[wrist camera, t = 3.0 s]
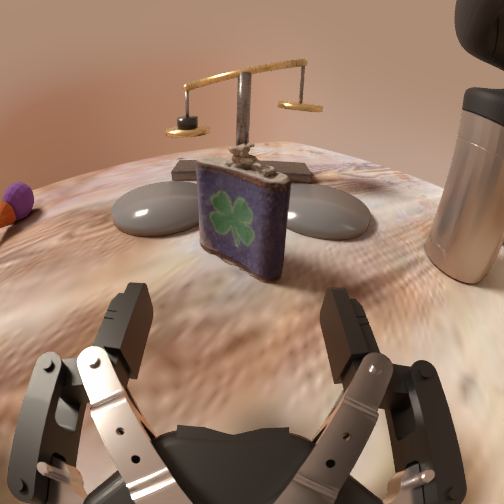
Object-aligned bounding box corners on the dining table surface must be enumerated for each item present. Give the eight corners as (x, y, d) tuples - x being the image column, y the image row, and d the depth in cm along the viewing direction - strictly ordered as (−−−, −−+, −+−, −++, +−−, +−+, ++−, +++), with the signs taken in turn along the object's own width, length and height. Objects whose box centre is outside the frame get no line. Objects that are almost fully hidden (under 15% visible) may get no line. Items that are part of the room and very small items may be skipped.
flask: (194, 246, 27) (188, 139, 21) (215, 234, 29) (214, 133, 23) (270, 288, 23) (284, 160, 17) (289, 271, 25) (306, 153, 18)
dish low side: (216, 188, 39) (216, 180, 38) (206, 237, 29) (205, 227, 28) (133, 190, 39) (131, 183, 38) (96, 236, 28) (94, 227, 27)
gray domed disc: (349, 194, 40) (351, 187, 39) (383, 241, 29) (386, 232, 29) (265, 189, 39) (265, 181, 39) (273, 238, 29) (274, 228, 28)
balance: (309, 170, 48) (320, 63, 36) (318, 184, 42) (332, 61, 31) (174, 167, 47) (170, 59, 35) (164, 181, 41) (158, 57, 30)
